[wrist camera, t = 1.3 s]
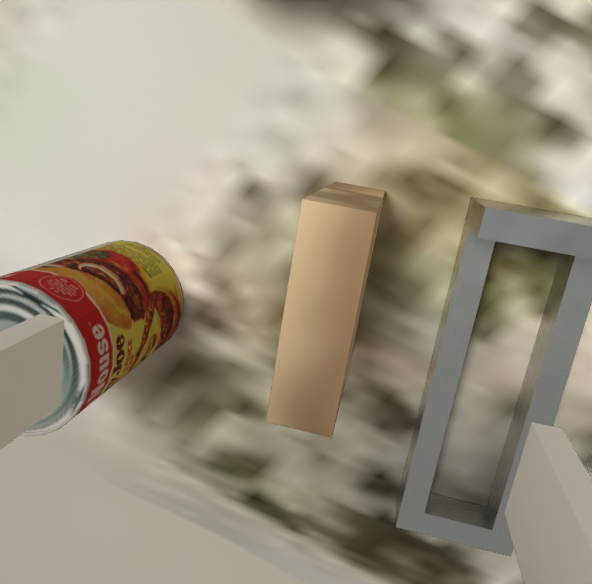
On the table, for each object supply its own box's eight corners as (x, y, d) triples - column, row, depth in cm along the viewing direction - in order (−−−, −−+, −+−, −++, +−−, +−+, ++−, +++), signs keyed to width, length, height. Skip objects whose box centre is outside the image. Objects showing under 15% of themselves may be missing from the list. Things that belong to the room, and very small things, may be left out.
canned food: (140, 374, 40) (34, 466, 28) (54, 300, 39) (-88, 363, 28) (206, 294, 37) (119, 359, 26) (115, 215, 37) (-13, 245, 26)
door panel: (308, 336, 37) (265, 422, 25) (335, 181, 34) (302, 199, 22) (353, 346, 36) (331, 437, 25) (385, 190, 34) (376, 212, 22)
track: (396, 504, 38) (394, 566, 33) (471, 196, 33) (485, 207, 27) (504, 531, 37) (522, 600, 32) (600, 219, 32) (644, 235, 26)
